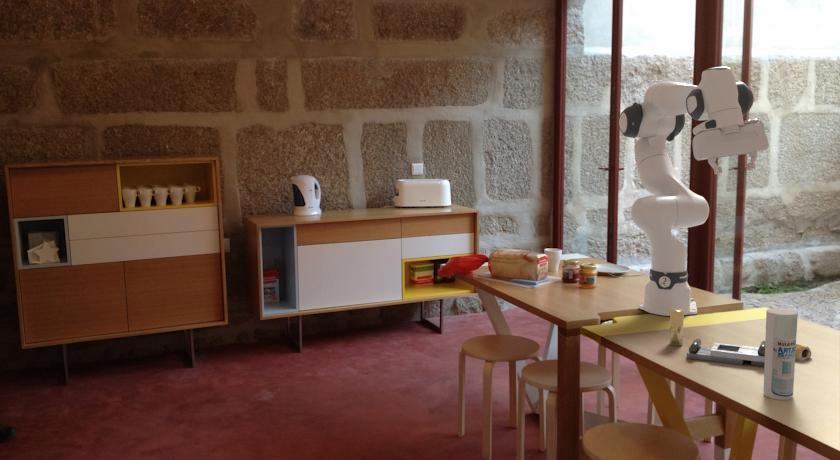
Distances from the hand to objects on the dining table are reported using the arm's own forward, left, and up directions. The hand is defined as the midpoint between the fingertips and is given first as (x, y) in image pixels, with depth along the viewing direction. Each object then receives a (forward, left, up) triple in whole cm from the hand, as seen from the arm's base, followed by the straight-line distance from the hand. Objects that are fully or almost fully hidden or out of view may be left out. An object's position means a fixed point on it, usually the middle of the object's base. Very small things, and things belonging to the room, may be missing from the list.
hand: (735, 171), depth 216 cm
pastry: (+5, +17, -50) cm, 53 cm away
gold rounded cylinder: (+7, -13, -49) cm, 51 cm away
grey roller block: (+15, +2, -49) cm, 51 cm away
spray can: (+39, +16, -49) cm, 65 cm away
